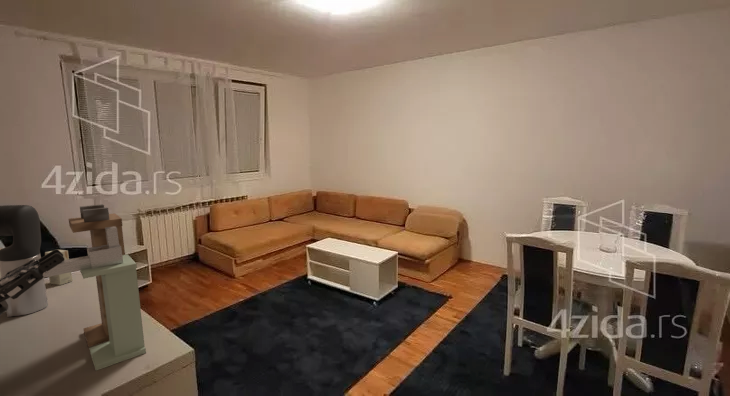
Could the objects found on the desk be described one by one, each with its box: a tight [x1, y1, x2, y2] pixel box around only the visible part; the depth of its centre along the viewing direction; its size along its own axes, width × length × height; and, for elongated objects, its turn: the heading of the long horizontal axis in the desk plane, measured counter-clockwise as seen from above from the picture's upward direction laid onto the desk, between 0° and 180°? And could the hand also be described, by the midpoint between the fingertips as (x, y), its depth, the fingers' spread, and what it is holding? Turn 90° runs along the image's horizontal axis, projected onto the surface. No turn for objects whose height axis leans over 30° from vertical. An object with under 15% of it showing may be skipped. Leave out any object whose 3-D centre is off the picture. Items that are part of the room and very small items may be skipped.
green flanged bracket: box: [79, 254, 147, 371], centre depth 85 cm, size 10×10×23 cm
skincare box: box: [44, 249, 73, 286], centre depth 131 cm, size 6×4×12 cm
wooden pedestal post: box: [68, 204, 126, 348], centre depth 93 cm, size 10×10×35 cm
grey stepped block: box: [30, 226, 123, 279], centre depth 79 cm, size 16×4×8 cm, turn 134°
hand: (60, 254), depth 77 cm, fingers open, 3 cm apart
